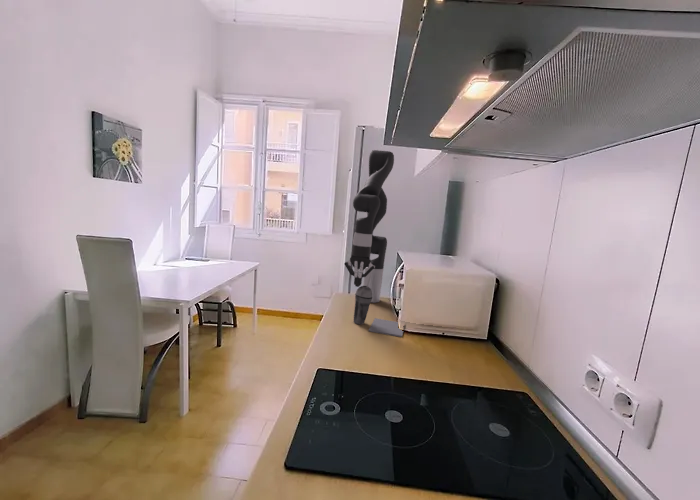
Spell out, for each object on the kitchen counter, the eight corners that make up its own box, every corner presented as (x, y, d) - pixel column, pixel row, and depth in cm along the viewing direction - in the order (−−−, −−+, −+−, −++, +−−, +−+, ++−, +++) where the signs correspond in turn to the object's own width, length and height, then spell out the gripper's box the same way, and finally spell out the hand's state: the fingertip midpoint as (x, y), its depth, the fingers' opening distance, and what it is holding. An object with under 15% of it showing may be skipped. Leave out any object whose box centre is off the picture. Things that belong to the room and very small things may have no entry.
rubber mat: (374, 319, 158) (375, 318, 158) (405, 324, 155) (405, 323, 155) (368, 331, 142) (368, 329, 142) (401, 337, 140) (402, 335, 140)
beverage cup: (347, 318, 153) (355, 272, 150) (362, 319, 156) (371, 273, 153) (354, 325, 147) (363, 277, 144) (370, 325, 150) (379, 278, 147)
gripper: (379, 245, 150) (374, 287, 152) (348, 241, 153) (344, 282, 155) (376, 247, 143) (371, 290, 145) (343, 243, 145) (339, 285, 148)
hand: (357, 286), depth 150 cm, fingers closed
